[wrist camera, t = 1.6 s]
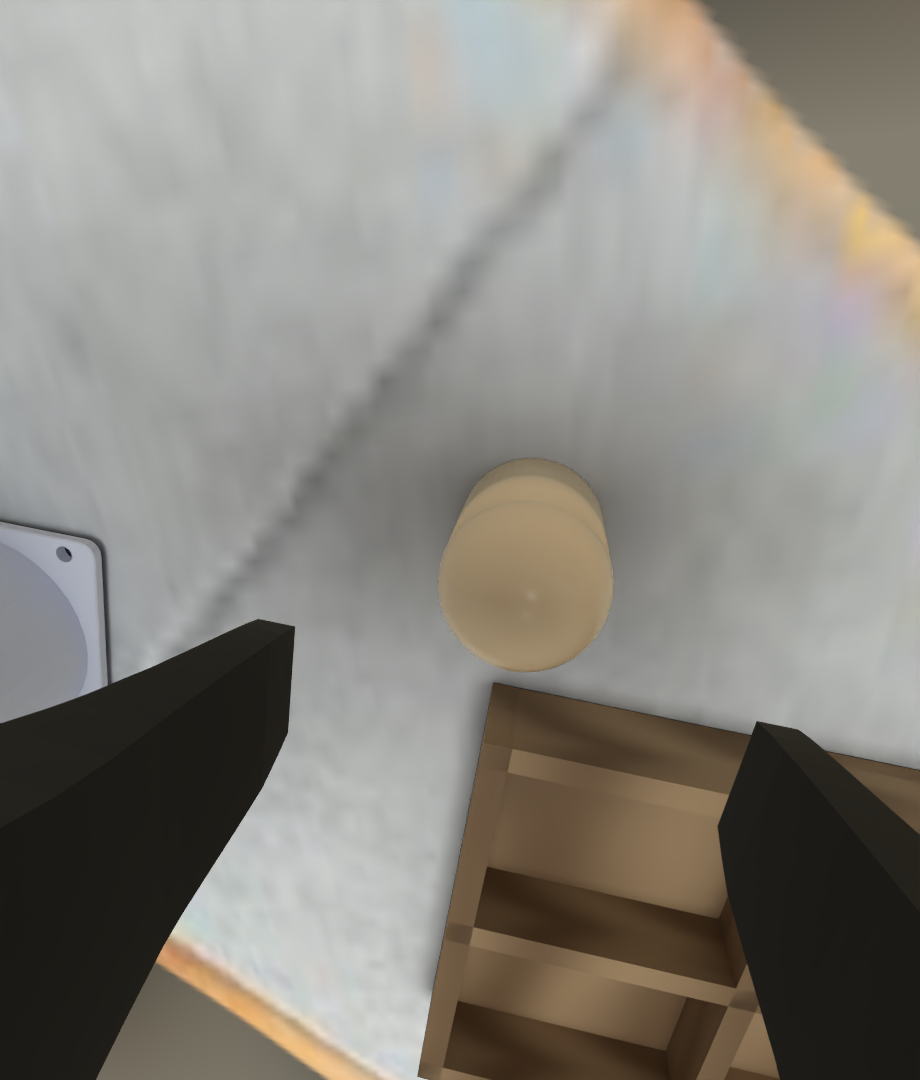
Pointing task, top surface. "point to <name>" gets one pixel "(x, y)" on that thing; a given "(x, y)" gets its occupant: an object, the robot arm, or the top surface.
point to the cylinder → (527, 567)
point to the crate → (602, 902)
